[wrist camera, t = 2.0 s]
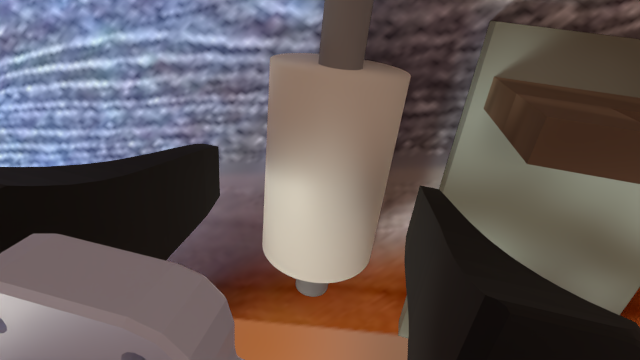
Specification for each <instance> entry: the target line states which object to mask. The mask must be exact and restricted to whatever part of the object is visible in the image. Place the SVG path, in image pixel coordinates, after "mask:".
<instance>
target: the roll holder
mask: <svg viewBox="0 0 640 360" xmlns="http://www.w3.org/2000/svg"><path fill="white" fill-rule="evenodd" d="M439 190H440V191H441V192H442V193H443V194H444V195H445V196H446V197H447V198H448V199H449V200H450V201H451V203H452V204H453V205H454V206H455V207H456V208H457V209H458V210H459V211H460V212H461V213H462V214H463V215H464V217H465V218H466V219H467V220H468V221H469V222H470V223H471V224H472V225H474V226H475V227H476V228H477V229H478V230H479V231H480V232H481V233H482V234H483V235H484V236H486V237H487V238H488V239H489V240H490V241H491V242H493V243H494V244H495V245H496V246H498V247H499V248H500V249H502V250H503V251H504V252H506V253H507V254H508V255H510V256H511V257H512V258H514V259H515V260H517V261H518V262H520V263H521V264H523V265H524V266H526V267H527V268H529V269H531V270H532V271H534V272H535V273H537V274H539V275H540V276H542V277H544V278H545V279H547V280H549V281H551V282H552V283H554V284H556V285H558V286H560V287H561V288H563V289H565V290H567V291H569V292H571V293H573V294H575V295H577V296H579V297H581V298H583V299H585V300H587V301H589V302H591V303H593V304H595V305H598V306H600V307H602V308H604V309H607V310H609V311H611V312H613V313H616V314H618V315H620V314H621V313H622V311H623V310H624V308H625V307H626V306H627V304H628V303H629V301H630V300H631V298H632V297H633V296H634V294H635V293H636V291H637V290H638V289H639V287H640V39H634V38H626V37H618V36H610V35H602V34H594V33H586V32H578V31H570V30H562V29H553V28H545V27H537V26H529V25H521V24H513V23H505V22H497V21H490V24H489V27H488V30H487V33H486V37H485V40H484V43H483V47H482V50H481V53H480V56H479V60H478V63H477V66H476V70H475V73H474V76H473V79H472V83H471V86H470V89H469V93H468V96H467V99H466V102H465V106H464V109H463V112H462V116H461V119H460V122H459V125H458V129H457V132H456V135H455V139H454V142H453V145H452V148H451V152H450V155H449V158H448V162H447V165H446V168H445V172H444V175H443V178H442V181H441V185H440V188H439ZM398 336H401V337H405V338H408V336H409V318H408V303H407V296H406V300H405V303H404V306H403V310H402V313H401V316H400V319H399V335H398Z"/></svg>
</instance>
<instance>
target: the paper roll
mask: <svg viewBox="0 0 640 360" xmlns="http://www.w3.org/2000/svg"><path fill="white" fill-rule="evenodd" d="M373 1H374V0H325V3H324V13H323V23H322V32H321V42H320V52H319V54H314V53H286V54H278V55H274V56H272V57H271V58H270V75H269V99H268V122H267V146H266V170H265V194H264V218H263V241H262V246H263V251H264V254H265V256H266V258H267V259H268V260H269V262H270V263H271V264H272V265H273V266H274V267H275V268H277V269H278V270H279V271H281V272H283V273H284V274H286V275H288V276H291V277H293V278H296V288H297V289H298V291H299V292H301V293H302V294H304V295H306V296H312V297H315V296H320V295H322V294H324V293H325V292H326V290H327V288H328V283H334V282H340V281H344V280H347V279H350V278H352V277H354V276H356V275H357V274H359V273H360V272H361V271H362V270H364V269H365V267H366V266H367V265H368V263H369V260H370V256H371V252H372V248H373V243H374V239H375V234H376V230H377V225H378V221H379V216H380V212H381V207H382V203H383V198H384V194H385V189H386V185H387V180H388V176H389V172H390V167H391V163H392V158H393V154H394V149H395V145H396V140H397V136H398V131H399V127H400V122H401V118H402V113H403V109H404V105H405V100H406V96H407V91H408V87H409V82H410V78H411V75H410V74H409V73H408V72H406V71H404V70H402V69H400V68H397V67H394V66H391V65H387V64H383V63H379V62H374V61H370V60H364V57H365V51H366V45H367V38H368V32H369V26H370V20H371V14H372V7H373Z"/></svg>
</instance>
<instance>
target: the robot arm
mask: <svg viewBox="0 0 640 360" xmlns="http://www.w3.org/2000/svg"><path fill="white" fill-rule="evenodd" d="M219 196H220V188H219V152H218V147H217V146H212V145H207V144H193V145H187V146H182V147H177V148H173V149H168V150H164V151H159V152H155V153H150V154H145V155H140V156H135V157H130V158H125V159H120V160H114V161H107V162H99V163H91V164H82V165H67V166H51V167H0V360H244V359H242V358H240V357H238V356H237V354H236V351H235V345H234V320H233V317H232V314H231V311H230V308H229V305H228V302H227V299H226V298H225V296H224V295H223V294H222V293H221V292H220V291H219V290H218V289H217V288H216V287H215V286H214V285H213V284H212V283H211V282H210V280H209V279H208V278H207V277H206V276H204V275H202V274H200V273H198V272H195V271H193V270H191V269H189V268H187V267H185V266H183V265H180V264H177V263H173V262H169V261H166V260H167V259H168V257H169V256H170V255H171V254H172V253H173V252H174V251H175V250H176V249H177V248H178V247H179V246H180V244H181V243H182V242H183V241H184V240H185V239H186V238H187V237H188V236H189V235H190V234H191V233H192V231H193V230H194V229H195V228H196V227H197V226H198V225H199V224H200V223H201V222H202V220H203V219H204V218H205V217H206V216H207V214H208V213H209V212H210V210H211V209H212V207H213V206H214V204H215V202H216V201H217V199H218V198H219ZM405 275H406V289H407V303H408V318H409V336H408V360H640V327H639V326H638V325H637V323H636V322H633V321H631V320H629V319H627V318H624V317H622V316H620V315H618V314H616V313H613V312H611V311H609V310H607V309H604V308H602V307H600V306H598V305H595V304H593V303H591V302H589V301H587V300H585V299H583V298H581V297H579V296H577V295H575V294H573V293H571V292H569V291H567V290H565V289H563V288H561V287H560V286H558V285H556V284H554V283H552V282H551V281H549V280H547V279H545V278H544V277H542V276H540V275H539V274H537V273H535V272H534V271H532V270H531V269H529V268H527V267H526V266H524V265H523V264H521V263H520V262H518V261H517V260H515V259H514V258H512V257H511V256H510V255H508V254H507V253H506V252H504V251H503V250H502V249H500V248H499V247H498V246H496V245H495V244H494V243H493V242H491V241H490V240H489V239H488V238H487V237H486V236H484V235H483V234H482V233H481V232H480V231H479V230H478V229H477V228H476V227H475V226H474V225H472V224H471V223H470V222H469V221H468V220H467V219H466V218H465V217H464V215H463V214H462V213H461V212H460V211H459V210H458V209H457V208H456V207H455V206H454V205H453V204H452V203H451V201H450V200H449V199H448V198H447V197H446V196H445V195H444V194H443V193H442V192H441V191H440V190H439V189H434V188H429V187H424V186H420V188H419V191H418V195H417V199H416V202H415V206H414V210H413V213H412V217H411V220H410V224H409V228H408V231H407V235H406V246H405Z"/></svg>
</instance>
